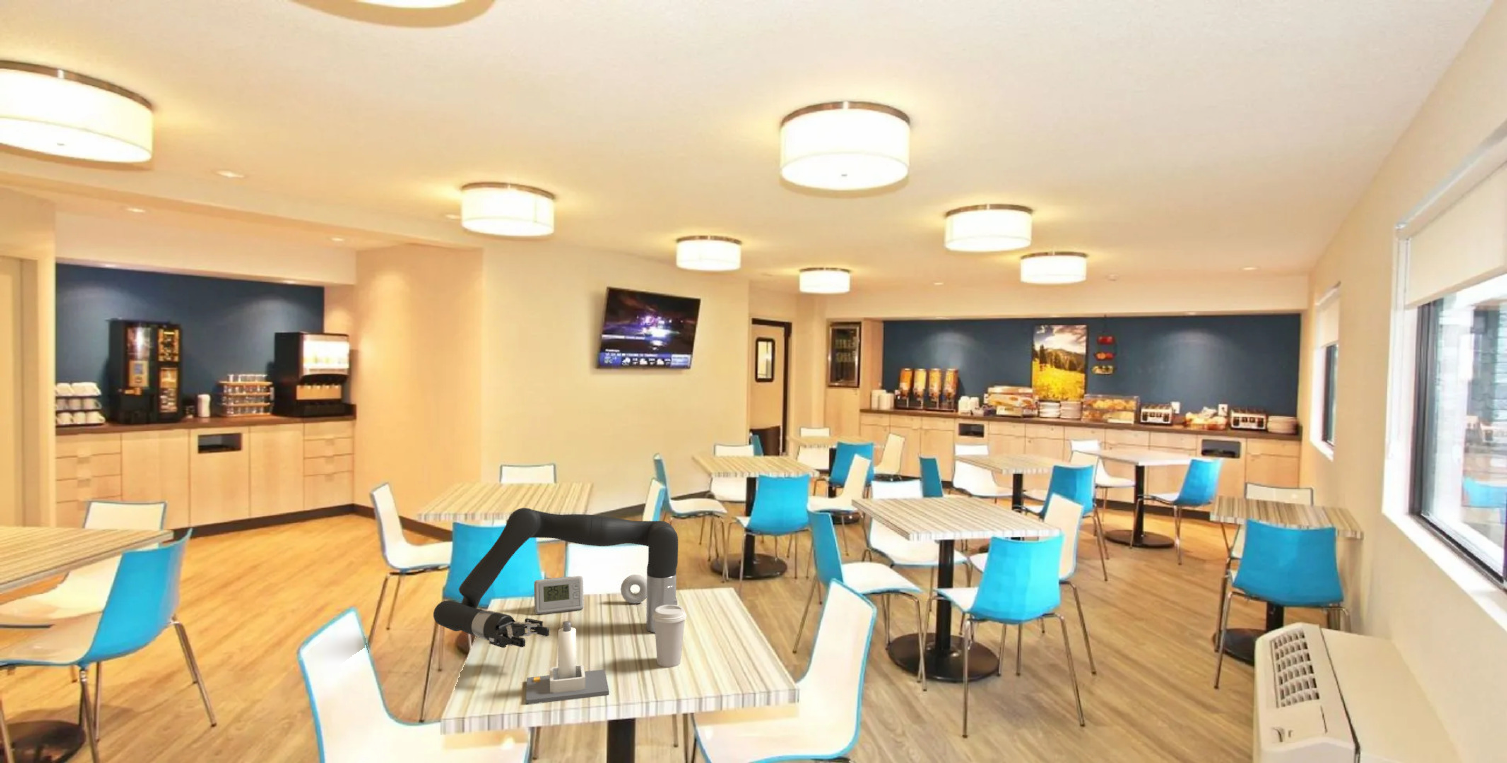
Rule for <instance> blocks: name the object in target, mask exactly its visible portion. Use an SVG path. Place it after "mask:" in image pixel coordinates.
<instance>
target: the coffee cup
mask: <svg viewBox="0 0 1507 763" xmlns="http://www.w3.org/2000/svg"><path fill="white" fill-rule="evenodd" d="M652 618H653V620H654V625H655V633H654V636H655V648H656V660H657V662H656V663H657V665H658V666H659V667H664V668H672V667H673V668H674V667H677V666H679V665H680V664H681V663H682V660H681V659H682V651H683V643H684V629H685V620H686V619H687V613H686V611H685V609H684V607H683V606H680V605H678V604H677V605H662V606H659V607H657V608H656V609H655V612H654V613H653V616H652Z"/></svg>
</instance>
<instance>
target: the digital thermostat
mask: <svg viewBox="0 0 1507 763" xmlns="http://www.w3.org/2000/svg"><path fill="white" fill-rule="evenodd" d="M533 590H534V592H533V593H534V594H533V596H534V613H535V614H536V615H541V614H542V615H543V614H546V615H547V614H548V615H550V614H559V613H568V612H573V611H579V610H582V609H584V608H585V606H584V605H585V604H584V603H585V602H584V601H585V599H584V578H583V577H582V576H581V575H577V576H575V575H574V576H561V577H560V576H559V577H552V578H545V579H536V580H534V583H533Z"/></svg>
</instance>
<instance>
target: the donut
mask: <svg viewBox="0 0 1507 763" xmlns="http://www.w3.org/2000/svg"><path fill="white" fill-rule="evenodd" d="M635 585H636V586H638V587H639V591H638V592H637V593H633V592H632V590H631V588H632V586H635ZM620 593H621V594H620V595H621V597H622V598H623V599H624V600H625V601H626V602H628V603H630V604H635V605H636V604H640V603H641V602H643V601H645V600H647V578H645V577H644V576H642V575H640V574H632V575H629V576H627V577H626V578H624V580H623V581H622V583H621V586H620Z"/></svg>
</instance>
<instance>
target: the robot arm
mask: <svg viewBox="0 0 1507 763" xmlns="http://www.w3.org/2000/svg"><path fill="white" fill-rule="evenodd" d="M537 538H538V539H539V538H541V539H543V538H544V539H556V540H560V541H564V542H567V543H573V544H576V545H584V546H593V547H613V546H617V545H618V546H619V545H625V544H626V545H628V544H629V545H630V544H631V545H638V546H639V545H640V546H644V547H648V553H647V554H648V555H647V558H648V559H647V566H646V580H647V598H646V621H645V624H646V626H645V627H646V628H645V629H646V630H647V631H648V632H651V633H654V634H655V625H654V620H653V618H652V616H653V613H654V612H655V609H656V608H657V607H659V606H662V605H678V598H677V570H678V569H677V568H678V563H679V562H678V561H679V560H678V559H679V536H678V534H677V531H676V529H675V528H674V526H672V524H671V523H669V522H667V521H663V520H631V519H626V518H620V517H613V516H606V515H597V514H584V513H583V514H582V513H578V514H576V513H574V514H573V513H571V514H569V513H568V514H567V513H565V514H557V513H550V512H544V511H540V510H535V509H531V508H528V507H520V508H517V509H515V510H514V511H512V513H511V514H510V515H509V517H508V518H507V523H506V524H505V526H504V527H503V530H502V532H501V533H500V534H499V536H498V538H497V540H496V541H495V542H494V544H493V545H492V546H491V548H490V549H489V550H488V551H487V553H486V554H485V555H484V556H483V557H482V558H481V560H480V559H479V562H478V563H476V565H475V566H474V567H473V569H472V570H471V571H470V573H468V575H467V576H466V578H465V579H464V580H463V582H462V583H461V584H460V585H459V588H458V592H459V594H461V595H462V600H461V602H458V601H456V600H451V599H446V600H443V601H441V602H439V603H438V604H437V605H436V606H435V608H434V610H433V614H432V615H433V620H434V621H435V623H436V624H437V625H440V626H442V627H443V628H446V629H449V630H451V631H453V632H460V631H461V632H463V633H465V634H468V635H472V636H475V637H478V638H480V639H482V640H486V641H488V644H490V645H492V646H496V647H498V648H501V649H504V648H506V647H507V646H508V647H511V646H515V647H519V648H524V647H526V638H524V637H530V636H531V635H539V636H543V637H548V636H550V628H549V627H547V626H544V624H543V623H544V621H542V620H537V619H533V618H530V617H529V618H528V617H527V618H525V619H524V622H522V621H516V620H515V619H514V617H513V616H512V615H510V614H506V613H501V612H499V611H493V610H486V609H481V608H479V607H478V606H479V604H480V602H481V599H482V598H483V597H484V595H485V594H486V593H487V591H489V589H490V588H491V586H492V585H493V584H494V582H495V581H496V579H497V578H498V577H499V575H500V573H501V572H502V571H503V570H504V568H505V566H507V563H508V562H509V561H510V559H512V557H513V556H514V555H515V553H516V552H517V551H518V550H519V549H520V547H522V546H523V545H524V544H526V542H527V541H528V540H529V539H537ZM526 630H527V632H526Z"/></svg>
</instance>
